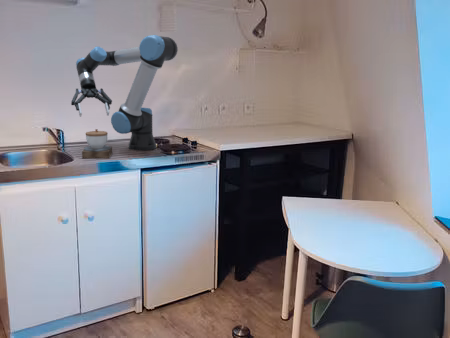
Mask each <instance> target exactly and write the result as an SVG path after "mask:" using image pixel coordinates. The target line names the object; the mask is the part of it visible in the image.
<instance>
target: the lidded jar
mask: <svg viewBox="0 0 450 338" xmlns="http://www.w3.org/2000/svg"><path fill="white" fill-rule="evenodd" d="M85 139H86V143H87V145H88V146H90V147H91V148H94V149H98V148H103V147H104V146H105V145H106V146H107V143H108V131H105V130H98V129H96V128H95V129H94V130H92V131H86V132H85Z"/></svg>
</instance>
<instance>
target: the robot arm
mask: <svg viewBox="0 0 450 338" xmlns="http://www.w3.org/2000/svg"><path fill="white" fill-rule="evenodd" d="M178 51H179V49H178V43H177V42H176V41H175V40H174V39H173V38H170V37H169V36H162V35H156V34H153V35H147V36H145V37H143V38H142V39H141V41H140V44H139V46H136V47H129V48H124V49H118V50H112V51H107V50H105V49H104V48H103V47H101V46H95V47H94V48H93V49H91V50H90V51H89V52H88V53H87V55H86V56H85V57H81V58H78V59H77V60H76V62H75V63H76V64H75V66H76V71H77V76H78V79H79V80H78V81H79V83H80V84H79V85H80V89H79V88H75V93H74V95H73V97H72V98H71V99H72V100H71V103H70V104H71V106H74V107H75V110H76V111H78V115H79V117H82V115H83V113H82V107H81V103H82V102H83V101H84V99H86V98H89V99H90V98H92V99H93V98H95V99H97V100H99V102H101V103H102V104H104V108H105V112H106V116H109V115H110V111H109V110H110V109H111V107H110V106H111V105H112V103H113V100H112V99H111V98H110V97H109V96H108V95H107V94H106V91H104V89H103V88H100V89H97V85H96V82H95V77H94V73H93V72H94V71H95V70H96V69H98V67H99V66H110V67H111V66H113V67H114V66H115V67H116V66H119V65H123V64H131V63H132V64H133V63H138V62H140V64H139V66H138V69H137V72H136V74H135V77H134V79H133V82H132V85H131V87H130V90H129V92H128V94H127V96H126V99H125V102H124V103H121V104H120V106H119V108H118V110H117V111H115V112H113V113H112V115H111V119H110V122H111V125H112V128H113V130H114V131H115V132H116V133H119V134H120V135H121V134H122V135H123V134H129V133H131V136H130V140H129V142H128V149H129V150H132V151H150V150H151V151H152V150H155V149H156V148H157V143H156V140H155V138H154V134H153V111H152V108H150V107H143V104H144V102H145V100H146V97H147V95H148V93H149V90H150V88H151V85H152V83H153V80H154V78H155V76H156V74H157V71H158V70H159V69H161V68H162V67H163V65H164V62H166V61H167V62H168V61H171V60H173V59H175V58H176V56H177V54H178ZM80 94H81V95H80ZM79 95H80V96H79ZM78 96H79V98H78Z"/></svg>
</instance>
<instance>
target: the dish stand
mask: <svg viewBox="0 0 450 338" xmlns="http://www.w3.org/2000/svg"><path fill="white" fill-rule="evenodd" d="M112 155H113V146H109V145H107V144H106V145H105V146H104V147H103V148H98V149H94V148H91V147H90V146H89V145H88V146H84V148H83V150H82V151H81V156H82V157H81V159H110V158H111V156H112Z"/></svg>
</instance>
